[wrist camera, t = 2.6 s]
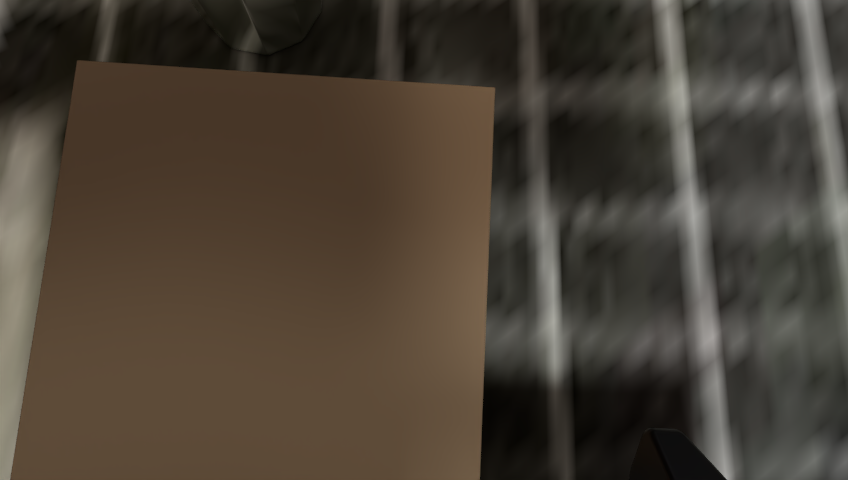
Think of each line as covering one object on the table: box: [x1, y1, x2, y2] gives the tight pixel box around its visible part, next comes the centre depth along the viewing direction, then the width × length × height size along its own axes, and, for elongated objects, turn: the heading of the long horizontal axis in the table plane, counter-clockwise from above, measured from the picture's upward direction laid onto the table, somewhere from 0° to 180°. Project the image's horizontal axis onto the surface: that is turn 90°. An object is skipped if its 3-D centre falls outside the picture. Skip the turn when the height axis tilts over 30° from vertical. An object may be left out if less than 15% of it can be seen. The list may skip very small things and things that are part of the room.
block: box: [10, 60, 495, 480], centre depth 13 cm, size 4×4×11 cm
